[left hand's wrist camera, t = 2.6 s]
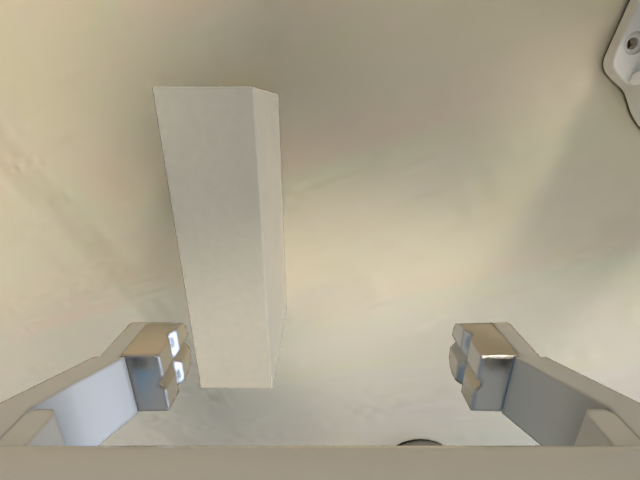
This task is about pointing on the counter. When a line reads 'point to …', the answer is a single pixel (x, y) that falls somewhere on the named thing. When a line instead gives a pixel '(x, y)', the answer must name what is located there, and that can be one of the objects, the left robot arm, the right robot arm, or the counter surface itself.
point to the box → (228, 225)
